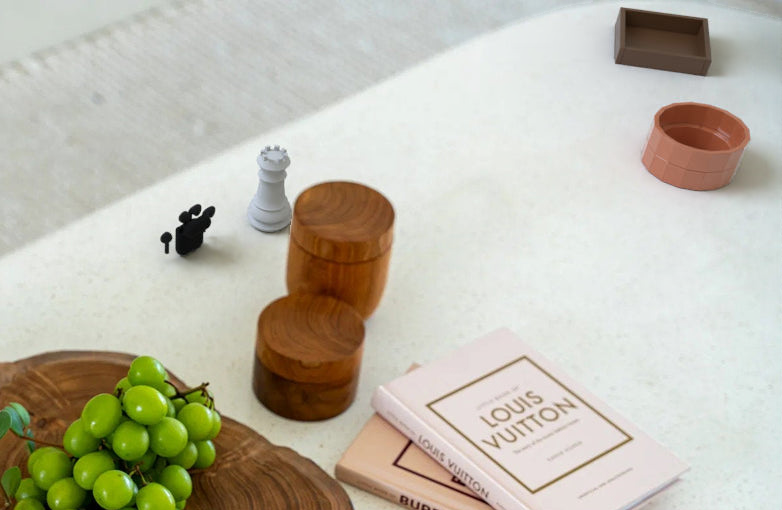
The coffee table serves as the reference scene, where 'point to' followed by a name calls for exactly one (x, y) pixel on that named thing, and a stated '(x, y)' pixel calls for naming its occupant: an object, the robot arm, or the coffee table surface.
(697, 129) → the bowl
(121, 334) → the coffee table surface
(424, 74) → the coffee table surface
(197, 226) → the wireless earbuds
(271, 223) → the rook chess piece
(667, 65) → the tray
